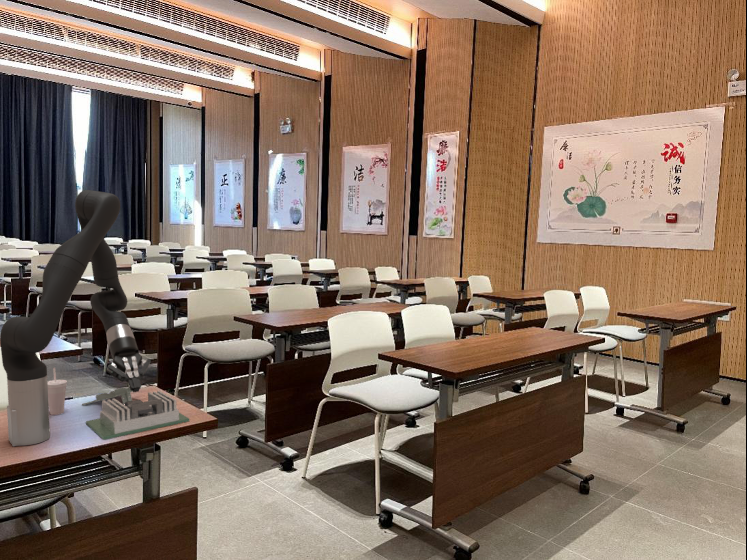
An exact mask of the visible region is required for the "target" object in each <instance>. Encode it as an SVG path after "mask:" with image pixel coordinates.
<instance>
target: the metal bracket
mask: <svg viewBox="0 0 747 560" xmlns="http://www.w3.org/2000/svg"><path fill="white" fill-rule="evenodd" d="M132 393H134V392H133V391H131V390H130V387H129V386H128V387H120V388H117V389H114V390H112V391H110V392H103V393H99V394H96V395H95V400H91V401H88V402H85V403H82V404H81V406H85V405H89V404H92V403H97V402H102V401H103V400H105V401H106V400H109V399H110V400H111V399H114V398H116V397H121V401H122V402H121V403H122V404H123V405H124V404H125V402H129V401H133V397H132Z"/></svg>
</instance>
